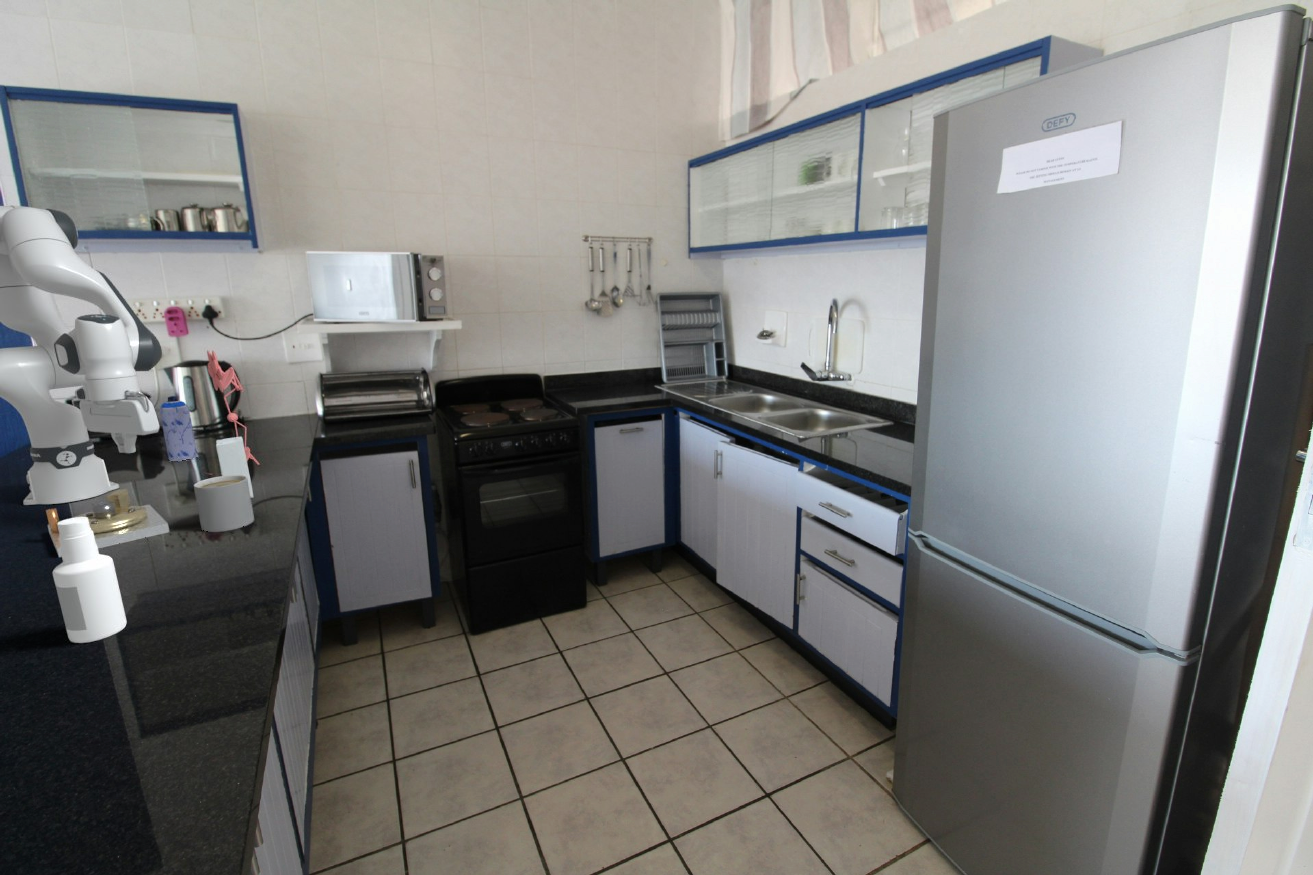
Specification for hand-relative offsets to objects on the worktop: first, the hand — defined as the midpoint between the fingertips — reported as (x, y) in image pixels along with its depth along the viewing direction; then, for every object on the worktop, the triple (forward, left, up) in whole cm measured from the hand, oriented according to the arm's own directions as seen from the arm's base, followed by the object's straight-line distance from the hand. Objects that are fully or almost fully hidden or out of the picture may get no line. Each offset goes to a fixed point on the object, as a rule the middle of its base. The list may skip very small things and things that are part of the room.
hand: (127, 452), depth 144 cm
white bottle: (+57, -14, -17) cm, 61 cm away
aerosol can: (-67, +21, -17) cm, 72 cm away
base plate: (+2, -6, -17) cm, 18 cm away
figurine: (-43, +28, -17) cm, 54 cm away
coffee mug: (+15, +13, -17) cm, 26 cm away
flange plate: (+1, -6, -14) cm, 15 cm away
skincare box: (-6, +21, -17) cm, 27 cm away
